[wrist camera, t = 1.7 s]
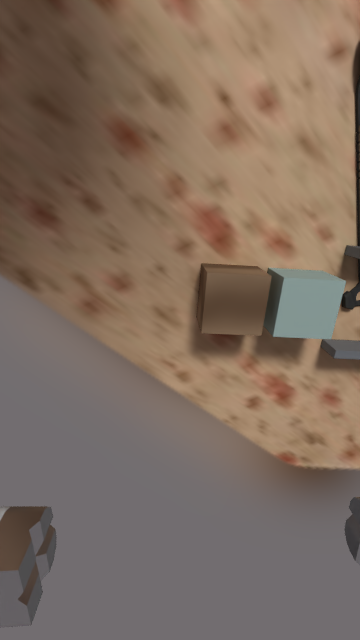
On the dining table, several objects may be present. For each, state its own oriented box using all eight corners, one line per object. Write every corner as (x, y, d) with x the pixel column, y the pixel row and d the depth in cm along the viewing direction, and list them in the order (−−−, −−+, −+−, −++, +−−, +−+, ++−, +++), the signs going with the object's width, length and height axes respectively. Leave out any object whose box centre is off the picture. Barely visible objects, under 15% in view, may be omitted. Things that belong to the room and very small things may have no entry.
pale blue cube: (267, 267, 28) (284, 277, 24) (321, 270, 28) (346, 280, 24) (259, 319, 29) (273, 336, 26) (309, 322, 30) (331, 339, 26)
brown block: (201, 263, 27) (207, 272, 24) (256, 266, 28) (271, 276, 24) (196, 316, 29) (201, 333, 25) (248, 318, 29) (261, 335, 26)
